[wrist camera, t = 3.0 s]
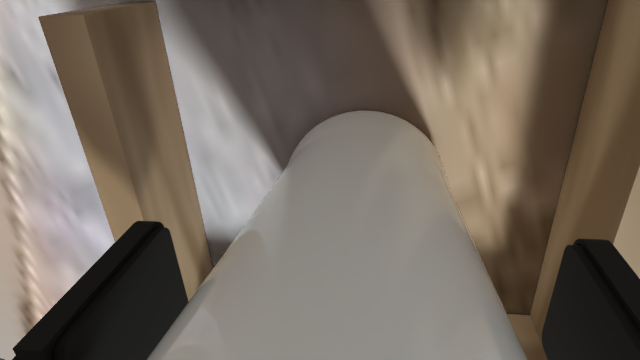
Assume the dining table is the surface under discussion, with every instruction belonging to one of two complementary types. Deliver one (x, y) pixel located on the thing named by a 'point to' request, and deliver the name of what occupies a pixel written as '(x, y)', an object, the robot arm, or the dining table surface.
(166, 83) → the oak corral
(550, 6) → the dining table surface
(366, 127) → the drinking glass
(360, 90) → the dining table surface
